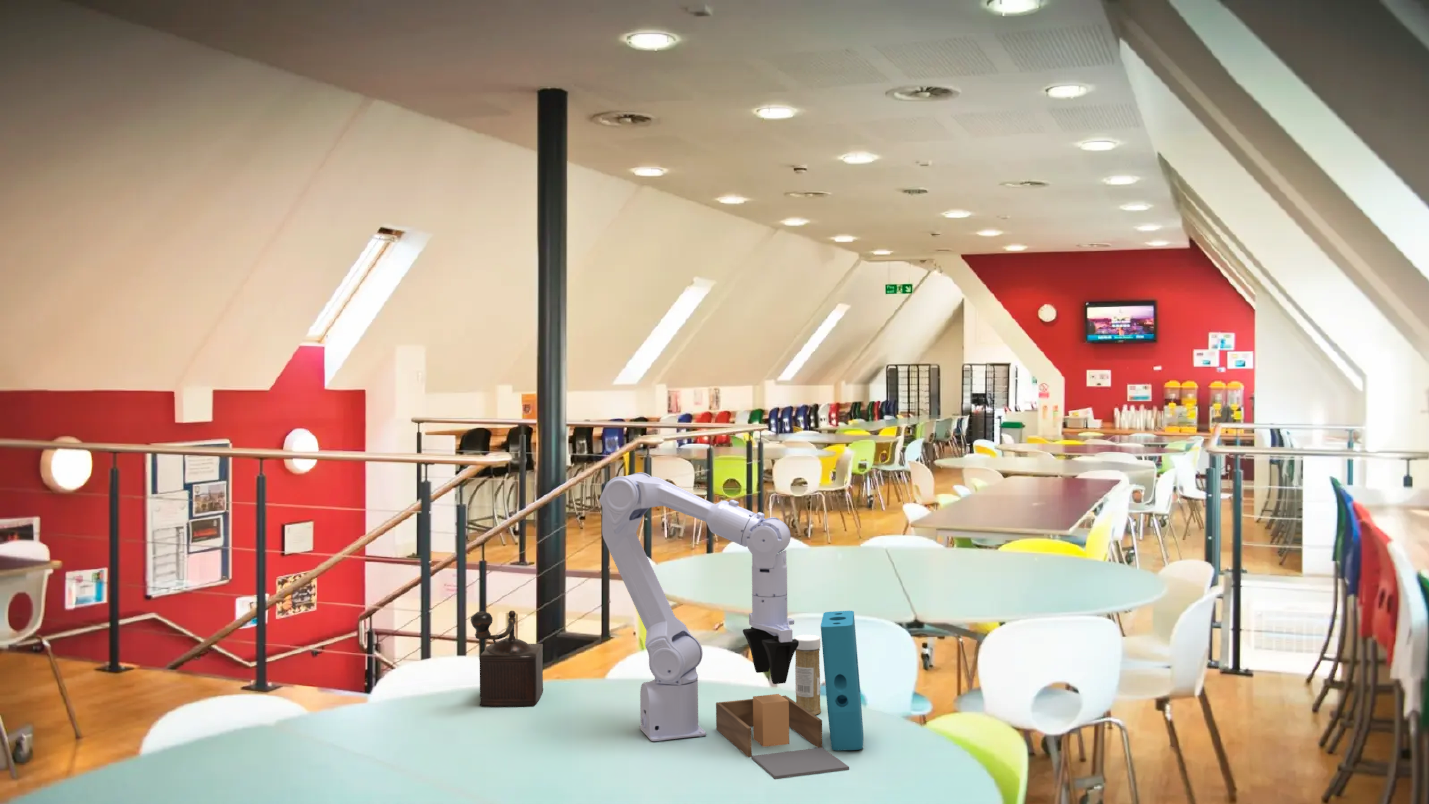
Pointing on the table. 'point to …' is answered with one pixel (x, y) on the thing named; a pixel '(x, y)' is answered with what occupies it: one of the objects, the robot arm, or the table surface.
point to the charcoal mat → (799, 762)
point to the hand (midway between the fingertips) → (770, 677)
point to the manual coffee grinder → (508, 666)
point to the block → (842, 680)
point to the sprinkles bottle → (808, 673)
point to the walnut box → (739, 719)
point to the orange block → (770, 720)
